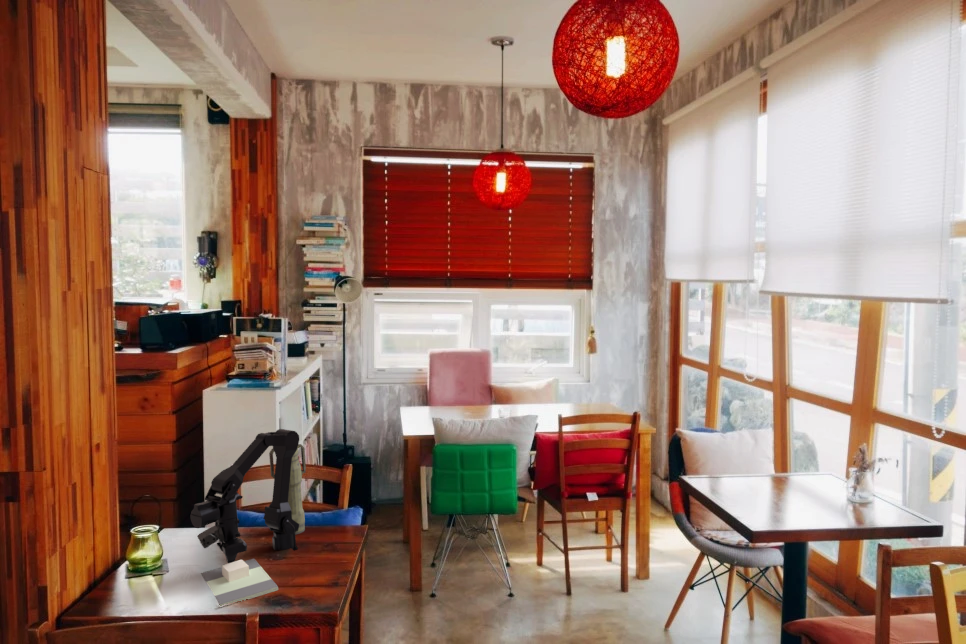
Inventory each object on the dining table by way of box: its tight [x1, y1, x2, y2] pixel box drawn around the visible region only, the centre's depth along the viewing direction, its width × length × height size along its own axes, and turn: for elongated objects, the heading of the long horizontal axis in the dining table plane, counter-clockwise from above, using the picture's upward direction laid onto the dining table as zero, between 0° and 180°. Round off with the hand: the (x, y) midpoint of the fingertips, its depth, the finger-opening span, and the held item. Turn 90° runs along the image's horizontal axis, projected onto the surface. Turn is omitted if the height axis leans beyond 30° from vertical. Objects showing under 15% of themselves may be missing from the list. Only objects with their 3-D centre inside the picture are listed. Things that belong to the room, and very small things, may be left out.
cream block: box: [221, 559, 249, 582], centre depth 203 cm, size 6×6×3 cm
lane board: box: [205, 565, 279, 607], centre depth 200 cm, size 16×24×1 cm, turn 34°
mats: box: [200, 558, 279, 604], centre depth 200 cm, size 16×24×1 cm, turn 34°
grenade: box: [268, 443, 307, 536], centre depth 237 cm, size 9×12×35 cm
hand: (230, 566), depth 206 cm, fingers closed
